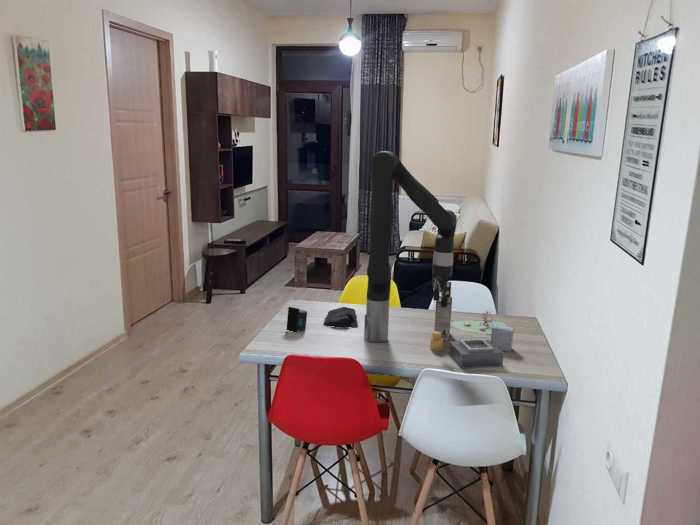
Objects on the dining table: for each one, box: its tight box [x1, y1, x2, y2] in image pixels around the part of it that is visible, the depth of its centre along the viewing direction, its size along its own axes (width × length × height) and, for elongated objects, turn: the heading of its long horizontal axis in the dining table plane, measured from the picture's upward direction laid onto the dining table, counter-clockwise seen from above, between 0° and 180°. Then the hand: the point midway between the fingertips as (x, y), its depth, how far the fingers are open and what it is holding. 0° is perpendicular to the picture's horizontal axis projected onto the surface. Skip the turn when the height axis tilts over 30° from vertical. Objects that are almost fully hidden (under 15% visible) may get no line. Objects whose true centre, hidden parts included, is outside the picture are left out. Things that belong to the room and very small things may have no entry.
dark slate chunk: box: [322, 306, 359, 328], centre depth 250 cm, size 15×22×5 cm
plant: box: [450, 310, 508, 334], centre depth 246 cm, size 25×21×9 cm
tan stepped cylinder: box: [429, 331, 444, 352], centre depth 219 cm, size 5×5×6 cm
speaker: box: [286, 306, 308, 333], centre depth 234 cm, size 8×6×10 cm
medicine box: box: [490, 325, 515, 352], centre depth 221 cm, size 8×4×9 cm, turn 65°
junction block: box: [448, 338, 505, 369], centre depth 209 cm, size 16×13×6 cm
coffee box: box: [433, 295, 453, 341], centre depth 232 cm, size 9×6×16 cm
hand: (439, 303), depth 216 cm, fingers open, 8 cm apart
